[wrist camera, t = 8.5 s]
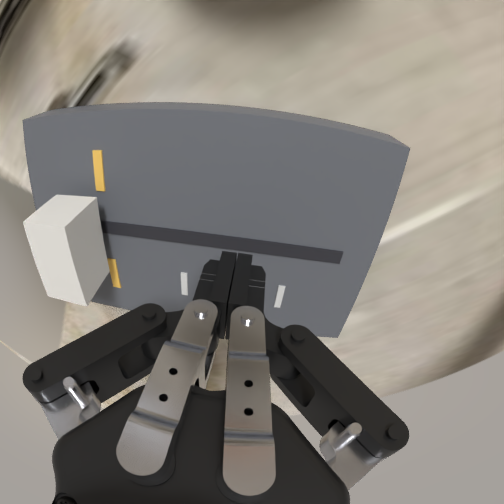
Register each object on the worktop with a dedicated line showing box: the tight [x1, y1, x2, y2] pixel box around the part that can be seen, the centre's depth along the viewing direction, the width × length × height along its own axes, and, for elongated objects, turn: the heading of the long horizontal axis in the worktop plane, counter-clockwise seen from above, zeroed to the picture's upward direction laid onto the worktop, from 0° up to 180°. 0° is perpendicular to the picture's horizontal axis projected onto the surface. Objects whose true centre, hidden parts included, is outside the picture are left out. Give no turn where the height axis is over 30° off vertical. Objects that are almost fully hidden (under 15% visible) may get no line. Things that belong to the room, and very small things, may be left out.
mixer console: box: [23, 102, 410, 338], centre depth 17 cm, size 22×14×3 cm, turn 83°
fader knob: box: [23, 195, 110, 306], centre depth 14 cm, size 3×5×4 cm, turn 173°
